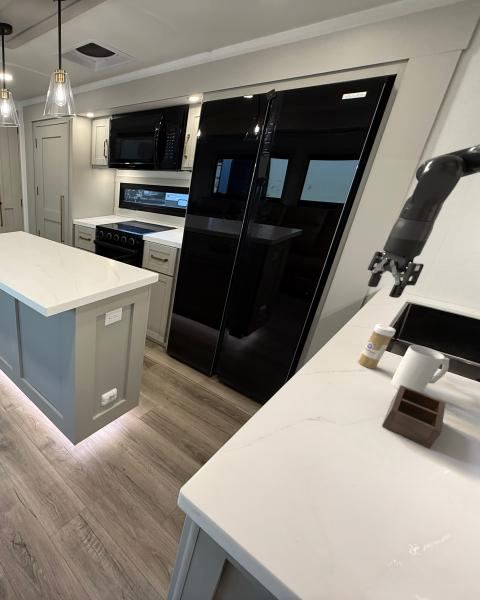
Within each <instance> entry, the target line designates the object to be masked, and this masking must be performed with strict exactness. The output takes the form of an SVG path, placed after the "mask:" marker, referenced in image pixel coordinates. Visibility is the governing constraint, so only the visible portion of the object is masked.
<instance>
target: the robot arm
mask: <svg viewBox="0 0 480 600" xmlns="http://www.w3.org/2000/svg"><path fill="white" fill-rule="evenodd" d="M479 173H480V144H476V145H474V146H469V147H466V148H462V149H458V150H455V151H451V152H448V153H444V154H441V155H437V156H434V157H431V158H428V159H427V160H425V161H424V162H422V163H421V165H420V166H418V168H417V169H416V171H415V179H416V180H417V184H416V186H415V188H414V189H413V192H412V194H411V196H409V197H408V198H407V199H406V200H405V202H404V203H403V207H402V209H401V211H400V213H399V215H398V218H397V219H396V221H395V222H394V223H393V226H392V228H391V230H390V232H389V235H388V237H387V238H386V241H385V244H384V246H383V248H382V250H383V251H375V253H374V254H373V256H372V258H371V261H370V263H369V264H368V267H367V270H368V271H370V274H371V276H370V278H369V280H368V283H367V286H368V287H370V288H377V287H378V286H379V284H380V281H381V279H382V277H383V274H385V273H386V272H389V273H391V275H392V277H393V278H394V284H393V285H392V288H391V291H390V292H389V294H388V296H389V297H390V298H395V299H399V298H400V297H402V294H403V292H404V291H405V289H406V287H408V286H413V287H414V286H416V285H417V282H418V280H419V277H420V276H421V273H422V271H423V269H424V266H425V265H424V263H419V262H418V263H417V262H414V260H415V258H416V257H419V256H421V254H422V252H423V250H424V248H425V246H426V244H427V243H428V240H429V238H430V236H431V234H432V232H433V229H434V226H435V223H436V221H437V219H438V217H439V215H440V213H441V211H442V208H443V206H444V204H445V202H446V201H447V199H448V198H449V196H450V195H451V194H452V192H453V191H454V190H455V188H456V187H457V185H458V183H459V182H460V180H461V178H464V177H468V176H471V175H474V174H479ZM401 278H402V279H401ZM410 279H411V280H410Z"/></svg>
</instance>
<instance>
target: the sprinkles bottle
mask: <svg viewBox="0 0 480 600" xmlns="http://www.w3.org/2000/svg"><path fill="white" fill-rule="evenodd" d="M372 330H373V331H372V333H371V335H370V337H369V339H368V341H367V343H366V344H365V347H364V348H363V350H362V353H361V355H360V357H359V359H358V360H357V362H358V363H359V365H361V366H362V367H365V368H368V369H376V368H378V364H379V362H380V361H381V359H382V358H383V355H384V354H385V352H386V350H387V348H388V346H389V343H390V341H391V340H392V338H393V337H394V336H395V334H396V332H397V330H396V328H394V327H392V326H389V325H388V324H381V323H378V324H377V323H376V324H375V326H374V328H373V329H372Z"/></svg>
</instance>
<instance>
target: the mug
mask: <svg viewBox="0 0 480 600" xmlns="http://www.w3.org/2000/svg"><path fill="white" fill-rule="evenodd" d="M450 360H451V359H450V358H449V357H446V356H445V355H444V354H443V353H441V352H439V351H437V350H435V349H432V348H430V347H426V346H422V345H416V344H411V345H409V346H408V348H407V350H406V351H405V353H404V355H403V358H402V359H401V361H400V363H399V365H398V367H397V369H396V371H395V373H394V374H393V377H392V379H391V381H390V384H391V385H392V386H393V387H394V388H395V389H397V390H398V389H399V387H400V385H402V386H405V387H407V388H410V389H412V390H415V391H417V392H420V393H423V392H424V391H425V389H426V387H427V386H428V385H429V384H432V385H434V384H435V383H436V382H438V381H439V380H441V378H442V377H444V376H445V375H446V373H447V372H448V371H449V368H450ZM441 365H442V367H441ZM440 367H441V369H440ZM439 369H440V370H439ZM438 370H439V372H438ZM436 372H438V373H436Z"/></svg>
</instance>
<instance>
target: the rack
mask: <svg viewBox="0 0 480 600" xmlns="http://www.w3.org/2000/svg"><path fill="white" fill-rule="evenodd" d="M445 410H446V401H444V400H441V399H439V398H435V397H433V396H430V395H428V394H425V393H423V392H422V393H420V392H417V391H415V390H412V389H410V388H407V387H405V386H402V385H400V387H399V389H397V390H396V392H395V394H394V396H393V397H392V398H391V401H390V404H389V407H388V409H387V412H386V414H385V417H384V419H383V421H382V425H381V428H385V429H387V430H389V431H391V432H393V433H395V434H396V435H399V436H401V437H403V438H406V439H407V440H410V441H411V442H414V443H416V444H417V445H418V444H419V445H420V446H422V447H424V448H427V449H431V448H432V446H433V445H434V444H435V442H436V441H437V439H438V438H439V436H440V435H441V434H442V432H443V431H442V430H443V423H444V417H445Z"/></svg>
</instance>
